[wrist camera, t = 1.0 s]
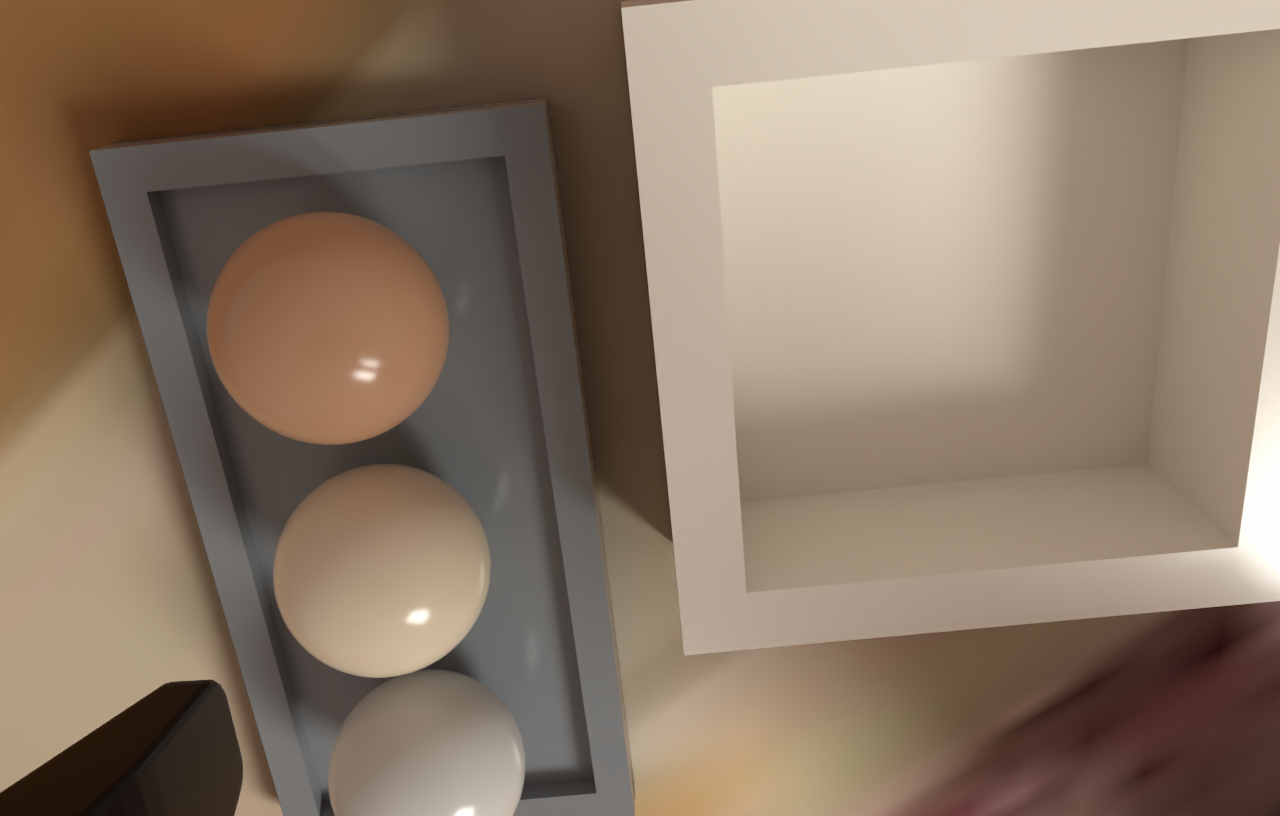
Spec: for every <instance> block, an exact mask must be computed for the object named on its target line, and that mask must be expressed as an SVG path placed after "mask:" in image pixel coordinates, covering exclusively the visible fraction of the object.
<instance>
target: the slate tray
mask: <svg viewBox="0 0 1280 816" xmlns="http://www.w3.org/2000/svg"><path fill="white" fill-rule="evenodd" d="M89 154H90V157H91V160H92V164H93V167H94V171H95V174H96V177H97V181H98V184H99V188H100V191H101V195H102V198H103V201H104V205H105V208H106V212H107V215H108V218H109V222H110V225H111V229H112V232H113V235H114V239H115V242H116V246H117V249H118V253H119V256H120V259H121V263H122V266H123V270H124V273H125V276H126V280H127V283H128V287H129V290H130V294H131V297H132V300H133V304H134V307H135V311H136V314H137V317H138V321H139V324H140V328H141V331H142V334H143V338H144V341H145V345H146V348H147V352H148V355H149V358H150V362H151V365H152V369H153V372H154V375H155V379H156V382H157V386H158V389H159V393H160V396H161V399H162V403H163V406H164V410H165V413H166V416H167V420H168V423H169V427H170V430H171V434H172V437H173V440H174V444H175V447H176V451H177V454H178V457H179V461H180V464H181V468H182V471H183V474H184V478H185V481H186V485H187V488H188V492H189V495H190V498H191V502H192V505H193V509H194V512H195V515H196V519H197V522H198V526H199V529H200V533H201V536H202V539H203V543H204V546H205V550H206V553H207V556H208V560H209V563H210V567H211V570H212V574H213V577H214V580H215V584H216V587H217V591H218V594H219V597H220V601H221V604H222V608H223V611H224V614H225V618H226V621H227V625H228V628H229V632H230V635H231V638H232V642H233V645H234V649H235V652H236V655H237V659H238V662H239V666H240V669H241V673H242V676H243V679H244V683H245V686H246V690H247V693H248V696H249V700H250V703H251V707H252V710H253V713H254V717H255V720H256V724H257V727H258V731H259V734H260V737H261V741H262V744H263V748H264V751H265V754H266V758H267V761H268V765H269V768H270V772H271V775H272V778H273V782H274V785H275V789H276V792H277V795H278V799H279V802H280V806H281V809H282V812H283V816H335V814H334V812H333V809H332V806H331V802H330V797H329V790H328V766H329V759H330V754H331V751H332V747H333V744H334V741H335V738H336V736H337V734H338V732H339V730H340V728H341V726H342V724H343V722H344V720H345V719H346V717H347V716H348V715H349V713H350V712H351V711H352V709H353V708H354V707H355V705H356V704H357V703H358V702H359V701H360V700H361V699H362V698H363V697H364V696H366V695H367V694H368V693H369V692H370V691H372V690H373V689H374V688H376V687H377V686H379V685H381V684H382V683H384V682H386V681H388V680H390V679H391V678H394V677H396V676H394V677H386V678H371V677H361V676H356V675H351V674H348V673H344V672H341V671H339V670H336V669H334V668H332V667H330V666H328V665H326V664H324V663H322V662H321V661H319V660H318V659H316V658H315V657H313V656H312V655H311V654H310V653H309V652H308V651H306V650H305V649H304V648H303V647H302V646H301V644H300V643H299V642H298V641H297V640H296V639H295V638H294V636H293V635H292V633H291V632H290V631H289V629H288V628H287V626H286V624H285V622H284V620H283V618H282V616H281V613H280V610H279V607H278V605H277V602H276V598H275V592H274V584H273V565H274V557H275V551H276V548H277V544H278V540H279V538H280V535H281V533H282V531H283V529H284V527H285V525H286V522H287V520H288V519H289V517H290V516H291V514H292V513H293V511H294V510H295V509H296V507H297V506H298V505H299V504H300V503H301V501H302V500H303V499H304V498H305V497H306V496H307V495H308V494H309V493H310V492H312V491H313V490H314V489H315V488H317V487H318V486H319V485H321V484H322V483H323V482H325V481H327V480H328V479H330V478H332V477H333V476H335V475H338V474H340V473H342V472H345V471H347V470H350V469H353V468H357V467H360V466H365V465H372V464H399V465H406V466H411V467H415V468H418V469H421V470H424V471H427V472H429V473H431V474H433V475H435V476H437V477H439V478H440V479H442V480H444V481H445V482H447V483H448V484H449V485H451V486H452V487H453V488H454V489H456V490H457V491H458V492H459V493H460V494H461V495H462V496H463V497H464V498H465V499H466V500H467V501H468V503H469V504H470V505H471V507H472V508H473V509H474V511H475V513H476V515H477V516H478V518H479V520H480V522H481V524H482V526H483V529H484V531H485V534H486V537H487V541H488V545H489V551H490V560H491V572H490V584H489V589H488V593H487V597H486V600H485V602H484V605H483V608H482V610H481V613H480V615H479V616H478V618H477V620H476V622H475V624H474V625H473V627H472V628H471V630H470V631H469V632H468V634H467V635H466V636H465V638H464V639H463V640H462V641H461V642H460V643H459V644H458V645H457V646H456V647H455V648H454V649H452V650H451V651H450V652H449V653H448V654H446V655H445V656H444V657H442V658H441V659H439V660H438V661H436V662H434V663H432V664H430V665H429V666H427V667H425V668H423V669H420V670H426V669H439V670H448V671H454V672H457V673H461V674H464V675H466V676H469V677H471V678H473V679H475V680H477V681H479V682H481V683H482V684H484V685H485V686H486V687H488V688H489V689H490V690H492V691H493V692H494V693H495V694H496V695H497V696H498V697H499V698H500V699H501V700H502V701H503V703H504V704H505V705H506V706H507V708H508V709H509V711H510V712H511V714H512V715H513V717H514V719H515V721H516V724H517V726H518V728H519V731H520V733H521V737H522V741H523V745H524V751H525V780H524V785H523V789H522V793H521V798H520V800H519V803H518V805H517V808H516V810H515V812H514V815H513V816H635V794H634V779H633V772H632V764H631V756H630V748H629V740H628V732H627V724H626V716H625V708H624V700H623V692H622V685H621V677H620V669H619V661H618V653H617V645H616V637H615V629H614V621H613V613H612V605H611V597H610V590H609V582H608V574H607V566H606V558H605V550H604V542H603V534H602V526H601V518H600V510H599V502H598V495H597V487H596V479H595V471H594V463H593V455H592V447H591V439H590V431H589V423H588V415H587V408H586V400H585V392H584V384H583V376H582V368H581V360H580V352H579V344H578V336H577V328H576V320H575V313H574V305H573V297H572V289H571V281H570V273H569V265H568V257H567V249H566V241H565V233H564V225H563V218H562V210H561V202H560V194H559V186H558V178H557V170H556V162H555V154H554V146H553V138H552V131H551V123H550V115H549V107H548V99H547V98H542V99H532V100H522V101H513V102H503V103H493V104H484V105H474V106H464V107H455V108H445V109H435V110H425V111H416V112H406V113H396V114H387V115H377V116H367V117H357V118H348V119H338V120H328V121H319V122H309V123H299V124H290V125H280V126H270V127H260V128H251V129H241V130H231V131H222V132H212V133H202V134H192V135H183V136H173V137H163V138H154V139H144V140H134V141H125V142H115V143H111V144H108V145H105V146H102V147H99V148H96V149H93V150H90V151H89ZM320 211H334V212H345V213H350V214H354V215H359V216H362V217H365V218H368V219H371V220H373V221H376V222H378V223H380V224H382V225H384V226H386V227H388V228H390V229H391V230H393V231H394V232H396V233H397V234H399V235H400V236H402V237H403V238H404V239H405V240H406V241H408V242H409V243H410V244H411V245H412V246H413V247H414V248H415V249H416V250H417V251H418V252H419V253H420V254H421V255H422V256H423V258H424V259H425V260H426V262H427V263H428V265H429V266H430V267H431V269H432V270H433V272H434V274H435V276H436V278H437V280H438V281H439V284H440V286H441V289H442V291H443V294H444V297H445V301H446V305H447V310H448V317H449V327H450V330H449V345H448V351H447V356H446V360H445V363H444V366H443V369H442V372H441V375H440V377H439V379H438V381H437V383H436V385H435V387H434V388H433V390H432V391H431V392H430V394H429V395H428V397H427V398H426V400H425V401H424V402H423V404H422V405H421V406H420V407H419V408H418V409H417V410H416V411H415V412H414V413H413V414H412V415H410V416H409V417H408V418H407V419H405V420H404V421H403V422H402V423H400V424H399V425H397V426H396V427H394V428H392V429H391V430H389V431H387V432H385V433H383V434H380V435H378V436H376V437H373V438H370V439H367V440H363V441H360V442H356V443H350V444H343V445H321V444H311V443H306V442H301V441H297V440H294V439H291V438H287V437H284V436H282V435H280V434H278V433H275V432H273V431H271V430H270V429H268V428H266V427H264V426H263V425H261V424H259V423H258V422H257V421H255V420H254V419H253V418H251V417H250V416H249V415H248V414H247V413H246V412H245V411H244V410H242V409H241V408H240V407H239V406H238V405H237V403H236V402H235V401H234V400H233V399H232V397H231V396H230V395H229V393H228V392H227V390H226V389H225V387H224V386H223V384H222V382H221V380H220V378H219V376H218V374H217V372H216V370H215V368H214V365H213V362H212V359H211V356H210V353H209V348H208V343H207V331H206V321H207V309H208V303H209V299H210V295H211V292H212V289H213V287H214V284H215V281H216V279H217V277H218V275H219V273H220V271H221V269H222V268H223V266H224V264H225V263H226V261H227V260H228V259H229V257H230V256H231V255H232V254H233V252H234V251H235V250H236V249H237V248H238V247H239V246H240V245H241V244H242V243H243V242H244V241H246V240H247V239H248V238H249V237H250V236H251V235H253V234H254V233H256V232H257V231H259V230H260V229H262V228H263V227H265V226H268V225H270V224H272V223H274V222H276V221H278V220H280V219H283V218H286V217H289V216H292V215H296V214H301V213H307V212H320ZM418 671H419V670H418Z"/></svg>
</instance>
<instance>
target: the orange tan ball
mask: <svg viewBox="0 0 1280 816" xmlns="http://www.w3.org/2000/svg"><path fill="white" fill-rule="evenodd" d="M449 330H450V327H449V317H448V310H447V305H446V301H445V297H444V294H443V291H442V289H441V286H440V284H439V281H438V280H437V278H436V276H435V274H434V272H433V270H432V269H431V267H430V266H429V265H428V263H427V262H426V260H425V259H424V258H423V256H422V255H421V254H420V253H419V252H418V251H417V250H416V249H415V248H414V247H413V246H412V245H411V244H410V243H409V242H408V241H406V240H405V239H404V238H403V237H402V236H400V235H399V234H397V233H396V232H394V231H393V230H391V229H390V228H388V227H386V226H384V225H382V224H380V223H378V222H376V221H373V220H371V219H368V218H365V217H362V216H359V215H354V214H350V213H345V212H334V211H320V212H307V213H301V214H296V215H292V216H289V217H286V218H283V219H280V220H278V221H276V222H274V223H272V224H270V225H268V226H265V227H263V228H262V229H260V230H259V231H257V232H256V233H254V234H253V235H251V236H250V237H249V238H248V239H247V240H246V241H244V242H243V243H242V244H241V245H240V246H239V247H238V248H237V249H236V250H235V251H234V252H233V254H232V255H231V256H230V257H229V259H228V260H227V261H226V263H225V264H224V266H223V268H222V269H221V271H220V273H219V275H218V277H217V279H216V281H215V284H214V287H213V289H212V292H211V295H210V299H209V303H208V309H207V321H206V331H207V343H208V348H209V353H210V356H211V359H212V362H213V365H214V368H215V370H216V372H217V374H218V376H219V378H220V380H221V382H222V384H223V386H224V387H225V389H226V390H227V392H228V393H229V395H230V396H231V397H232V399H233V400H234V401H235V402H236V403H237V405H238V406H239V407H240V408H241V409H242V410H244V411H245V412H246V413H247V414H248V415H249V416H250V417H251V418H253V419H254V420H255V421H257V422H258V423H259V424H261V425H263V426H264V427H266V428H268V429H270V430H271V431H273V432H275V433H278V434H280V435H282V436H284V437H287V438H291V439H294V440H297V441H301V442H306V443H311V444H321V445H343V444H350V443H356V442H360V441H363V440H367V439H370V438H373V437H376V436H378V435H380V434H383V433H385V432H387V431H389V430H391V429H392V428H394V427H396V426H397V425H399V424H400V423H402V422H403V421H404V420H405V419H407V418H408V417H409V416H410V415H412V414H413V413H414V412H415V411H416V410H417V409H418V408H419V407H420V406H421V405H422V404H423V402H424V401H425V400H426V398H427V397H428V395H429V394H430V392H431V391H432V390H433V388H434V387H435V385H436V383H437V381H438V379H439V377H440V375H441V372H442V369H443V366H444V363H445V360H446V356H447V351H448V345H449Z"/></svg>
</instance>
